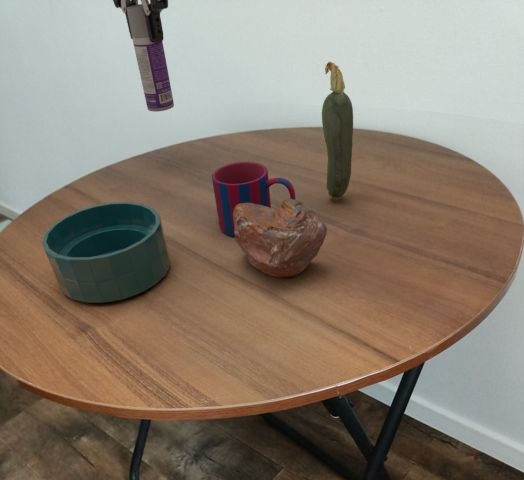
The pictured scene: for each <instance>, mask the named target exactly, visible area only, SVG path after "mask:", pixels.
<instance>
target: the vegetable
mask: <svg viewBox="0 0 524 480" xmlns="http://www.w3.org/2000/svg"><path fill="white" fill-rule="evenodd" d="M339 67H340V66H338V65H336V63H334V62H332V61H328V62H327V63H326V64H325V67H324V72H325V73H324V74H325V75H327V74H328V73H329V72H330V77H329V78H330V79H329V81H330V88H329V91H332V92H330V93H329V94H328V95H327V96H325V98H324V100H323V103H322V108H321V122H322V123H321V124H322V130H323V138H324V142H325V145H326V151H327V167H326V168H327V169H326V190H327V193H328V196H329V199H330V200H333V202H336V201H338V200H339V199H341V197H343V196H344V195H345V194H346V192H347V190H348V188H349V184H350V180H351V176H352V158H353V157H352V156H353V137H354V136H353V135H354V110H353V109H354V108H353V103H352V101H351V99H350V97H349V95H348V94H347V93H345V89H346V86H345V85H346V84H345V81H344V76H343V74H342V71H341V69H340V68H339Z"/></svg>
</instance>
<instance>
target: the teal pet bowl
mask: <svg viewBox="0 0 524 480" xmlns="http://www.w3.org/2000/svg"><path fill="white" fill-rule="evenodd" d="M163 227H164V226H163V222H162V219H161V215H160V214H159V212H157V210H156V209H155V208H154V207H151V206H149V205H147V204H145V203H142V202H141V203H140V202H135V201H112V202H105V203H99V204H94V205H91V206H88V207H84V208H81V209H78V210H76V211H73V212H71V213H69V214H67V215H65V216H63V217H62V218H60V219H59V220H57V221H56V222H54V223H53V224H51V226H49V228H48V229H47V230H46V231H45V232H44V234H43V236H42V240H41V246H42V248H43V250H44V252H45V255H46V257H47V259H48V262H49V264H50V267H51V269H52V272H53V273H54V276H55V278H56V281H57V283H58V286H59V287H60V290H61V293H62V294H64V295H66V296H67V297H68V298H70V299H71V300H75V301H79V302H82V303H88V304H89V303H90V304H91V303H95V304H99V303H100V304H103V303H104V304H105V303H110V302H115V301H122V300H125V299H128V298H131V297H134V296H137V295H139V294H141V293H144V292H145V291H147V290H148V289H150V288H152V287H154V286H156V285H157V284H158V283H159V282H160V281H161V280H162V279H163V278H164V277H165V276H166V275H167V273H168V271H169V269H170V267H171V257H170V256H171V255H170V251H169V248H168V243H167V240H166V236H165V232H164V228H163Z"/></svg>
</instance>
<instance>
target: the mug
mask: <svg viewBox="0 0 524 480" xmlns="http://www.w3.org/2000/svg"><path fill="white" fill-rule="evenodd" d="M211 181H212V187H213V192H214V193H213V194H214V200H215V206H216V212H217V218H218V225H219V229H220V231H221V232H222V233H223V234H225V235H226V236H229V237H232V238H233V237H234V238H236V236H235V232H234V231H235V225H234V219H233V211H234V208H235V207H236V205H238V204H240V203H253V204H257V205H262V206H266V207H269V208H272V204H271V203H272V202H271V192H270V187H271V186H273V185H275V184H280V185H283V186H284V187H285V188H286V189H287V190H288V193H289V197H290V198H289V199H294V200H296V190H295V187H294V185H293V184H292V183H291V181H289V179H286V178H284V177H275V178H270V179H269V170H268V167H266V165H264V164H262V163H259V162H254V161H238V162H237V161H236V162H232V163H227V164H225V165H222V166H220V167H218V168H217V169H215V170H214V171H213V172H212V174H211Z"/></svg>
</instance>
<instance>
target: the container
mask: <svg viewBox="0 0 524 480" xmlns="http://www.w3.org/2000/svg"><path fill="white" fill-rule="evenodd" d="M127 13H128V18H129V23H130V28H131V34H132V39H133V40H132V39H131V40H132V43H133V49H134V54H135V58H136V61H137V66H138V71H139V75H140V80H141V85H142V90H143V94H144V99H145V102H146V108H147V110H148V111H149V112H164V111H169V110H171V109H172V108H174V107H175V104H174V98H173V92H172V87H171V80H170V75H169V70H168V64H167V59H166V53H165V47H164V43H163V41H161V42H157V43H152V42H151V41H150V38H149V33H148V28H147V23H146V17H145V16H147V15H146V13H145V11H144V8H143V6H142V3H138V5H133V6H129V7H127Z"/></svg>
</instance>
